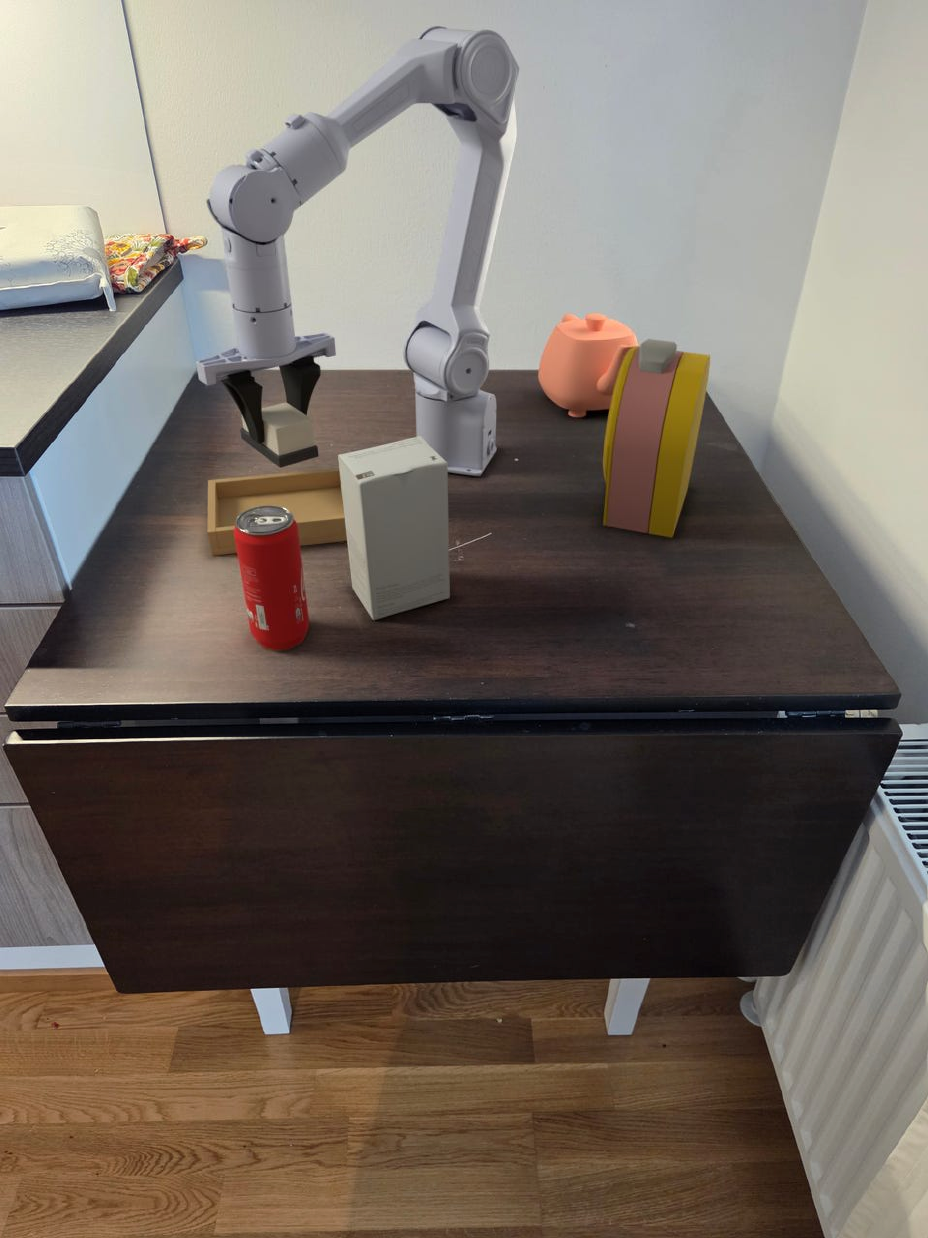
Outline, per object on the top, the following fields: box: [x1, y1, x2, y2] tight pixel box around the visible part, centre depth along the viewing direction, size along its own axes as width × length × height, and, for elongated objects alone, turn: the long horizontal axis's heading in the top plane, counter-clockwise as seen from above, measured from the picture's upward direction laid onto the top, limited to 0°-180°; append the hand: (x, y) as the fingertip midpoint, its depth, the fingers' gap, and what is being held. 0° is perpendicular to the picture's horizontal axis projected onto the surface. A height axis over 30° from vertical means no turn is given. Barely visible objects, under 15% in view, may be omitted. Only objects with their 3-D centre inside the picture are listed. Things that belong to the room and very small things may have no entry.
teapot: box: [537, 312, 639, 418], centre depth 118 cm, size 13×20×12 cm, turn 18°
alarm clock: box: [602, 338, 711, 538], centre depth 93 cm, size 15×8×18 cm, turn 160°
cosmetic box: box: [337, 436, 451, 621], centre depth 79 cm, size 8×6×15 cm
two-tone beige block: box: [239, 401, 320, 469], centre depth 93 cm, size 9×5×4 cm, turn 38°
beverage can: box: [234, 506, 310, 652], centre depth 75 cm, size 5×5×12 cm
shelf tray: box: [207, 467, 347, 557], centre depth 94 cm, size 16×12×3 cm
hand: (278, 433), depth 93 cm, fingers closed on two-tone beige block, 4 cm apart
